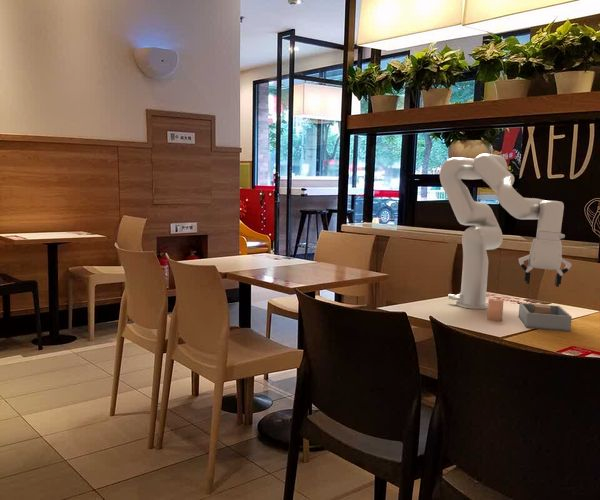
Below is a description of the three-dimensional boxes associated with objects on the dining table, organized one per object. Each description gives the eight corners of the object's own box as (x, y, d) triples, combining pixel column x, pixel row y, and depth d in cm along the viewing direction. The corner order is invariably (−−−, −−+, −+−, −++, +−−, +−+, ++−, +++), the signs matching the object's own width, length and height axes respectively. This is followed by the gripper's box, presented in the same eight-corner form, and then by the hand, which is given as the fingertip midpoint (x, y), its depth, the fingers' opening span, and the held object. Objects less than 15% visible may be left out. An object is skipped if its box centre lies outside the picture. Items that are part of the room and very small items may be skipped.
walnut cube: (532, 317, 201) (533, 303, 200) (547, 318, 200) (548, 304, 199) (534, 320, 196) (535, 306, 196) (549, 321, 195) (550, 307, 194)
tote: (526, 327, 188) (527, 313, 187) (518, 316, 205) (519, 302, 204) (570, 331, 185) (571, 316, 184) (558, 319, 202) (559, 306, 201)
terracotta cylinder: (487, 320, 196) (489, 300, 196) (486, 317, 201) (487, 298, 200) (502, 321, 195) (504, 302, 194) (501, 318, 200) (502, 299, 199)
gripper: (572, 237, 196) (565, 285, 199) (520, 233, 200) (514, 280, 203) (577, 239, 189) (570, 289, 192) (523, 235, 193) (517, 284, 196)
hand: (541, 284), depth 197 cm, fingers open, 9 cm apart
